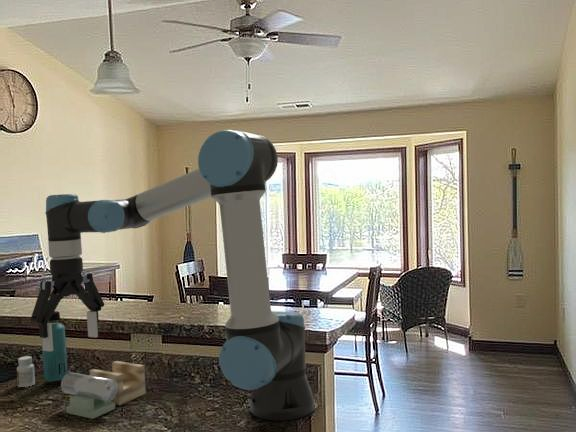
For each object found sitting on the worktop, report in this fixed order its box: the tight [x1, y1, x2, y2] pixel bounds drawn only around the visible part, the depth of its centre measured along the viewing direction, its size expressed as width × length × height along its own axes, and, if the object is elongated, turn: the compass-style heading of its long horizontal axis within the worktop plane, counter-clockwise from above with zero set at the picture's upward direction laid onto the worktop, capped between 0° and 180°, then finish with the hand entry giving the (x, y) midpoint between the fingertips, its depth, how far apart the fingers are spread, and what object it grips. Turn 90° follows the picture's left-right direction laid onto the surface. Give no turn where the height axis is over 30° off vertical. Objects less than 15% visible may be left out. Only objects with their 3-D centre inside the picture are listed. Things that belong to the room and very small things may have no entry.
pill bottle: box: [16, 355, 36, 388], centre depth 162 cm, size 4×4×8 cm
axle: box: [60, 371, 118, 401], centre depth 141 cm, size 14×5×5 cm, turn 61°
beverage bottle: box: [41, 310, 69, 382], centre depth 163 cm, size 6×7×20 cm
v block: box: [65, 395, 116, 420], centre depth 141 cm, size 9×7×4 cm
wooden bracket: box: [89, 360, 147, 406], centre depth 150 cm, size 10×9×8 cm
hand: (71, 343), depth 143 cm, fingers open, 13 cm apart
